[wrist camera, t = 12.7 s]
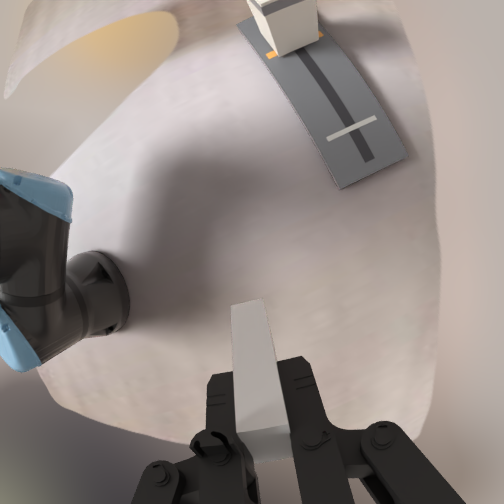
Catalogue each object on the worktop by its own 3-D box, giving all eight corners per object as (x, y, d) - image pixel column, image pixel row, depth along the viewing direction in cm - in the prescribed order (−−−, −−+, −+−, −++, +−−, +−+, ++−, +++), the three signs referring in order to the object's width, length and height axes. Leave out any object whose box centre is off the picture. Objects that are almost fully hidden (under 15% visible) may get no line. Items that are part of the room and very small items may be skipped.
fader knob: (319, 40, 29) (316, -16, 17) (278, 58, 30) (259, 5, 19) (299, 16, 29) (288, -40, 17) (260, 33, 30) (236, -20, 19)
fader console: (404, 158, 32) (409, 155, 30) (338, 189, 34) (340, 189, 32) (297, 5, 30) (296, -2, 28) (239, 31, 33) (235, 24, 31)
